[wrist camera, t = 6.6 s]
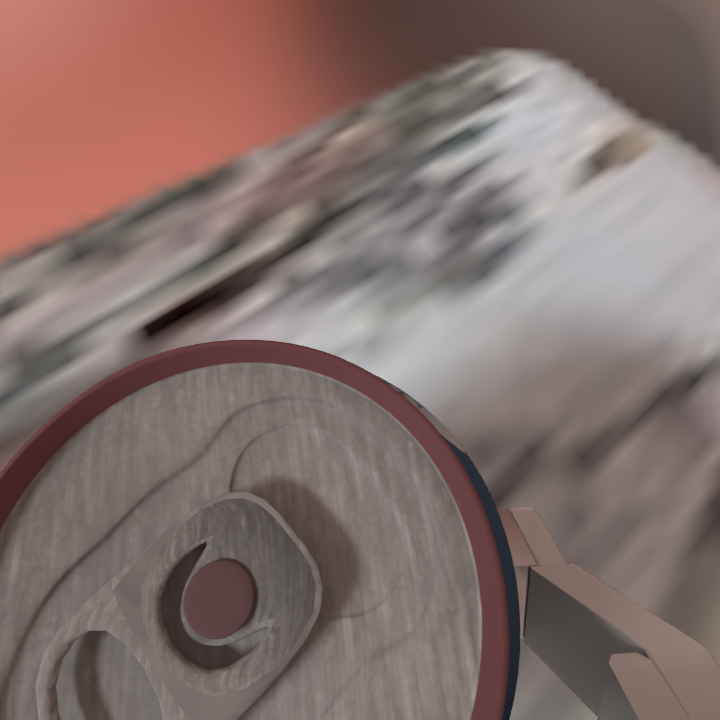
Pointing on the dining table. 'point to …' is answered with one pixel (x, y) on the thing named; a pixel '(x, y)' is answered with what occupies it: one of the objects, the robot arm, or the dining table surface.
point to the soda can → (252, 551)
